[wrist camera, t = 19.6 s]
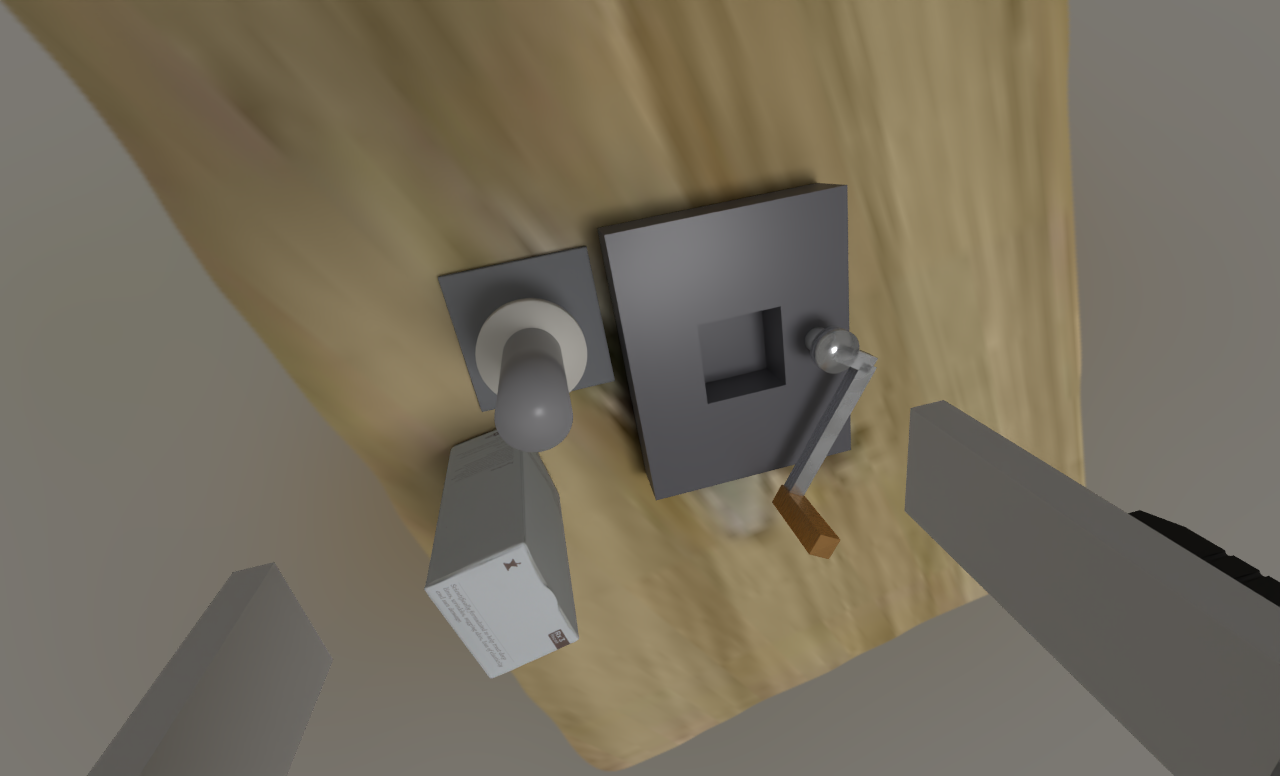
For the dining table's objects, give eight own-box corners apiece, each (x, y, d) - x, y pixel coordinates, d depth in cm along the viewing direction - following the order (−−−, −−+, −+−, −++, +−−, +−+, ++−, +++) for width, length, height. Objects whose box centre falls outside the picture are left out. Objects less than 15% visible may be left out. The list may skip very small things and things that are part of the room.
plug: (496, 387, 39) (481, 495, 26) (469, 295, 36) (438, 367, 23) (588, 366, 40) (617, 462, 27) (569, 275, 37) (591, 335, 24)
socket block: (597, 228, 37) (608, 239, 31) (817, 182, 38) (863, 186, 33) (646, 473, 45) (661, 515, 39) (825, 427, 46) (864, 461, 41)
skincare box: (450, 445, 41) (410, 584, 27) (525, 415, 41) (522, 539, 27) (498, 527, 44) (483, 687, 31) (566, 500, 44) (582, 646, 31)
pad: (439, 276, 36) (437, 278, 35) (585, 245, 37) (586, 247, 36) (482, 408, 40) (482, 411, 39) (613, 377, 41) (614, 380, 40)
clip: (733, 491, 40) (765, 543, 34) (823, 320, 36) (876, 348, 30) (789, 506, 41) (828, 559, 36) (881, 344, 37) (941, 375, 32)
